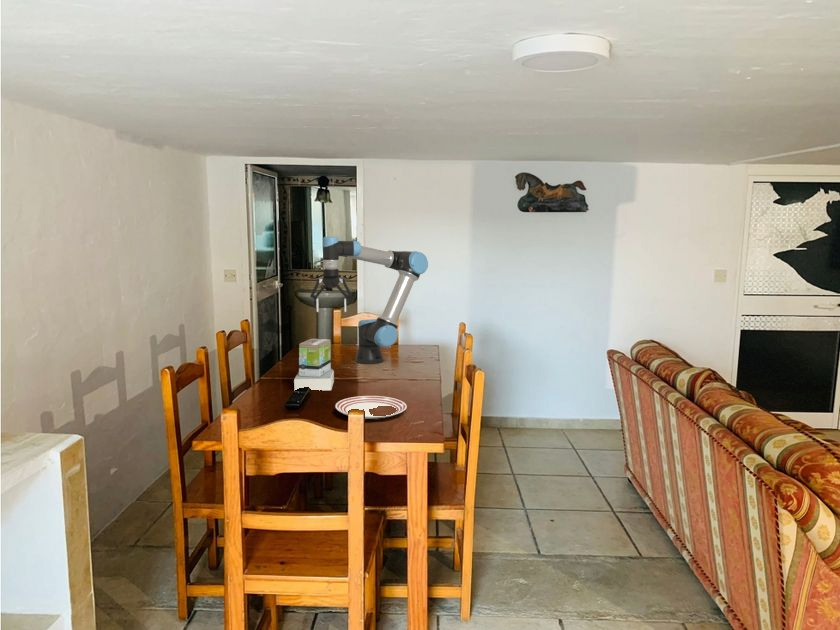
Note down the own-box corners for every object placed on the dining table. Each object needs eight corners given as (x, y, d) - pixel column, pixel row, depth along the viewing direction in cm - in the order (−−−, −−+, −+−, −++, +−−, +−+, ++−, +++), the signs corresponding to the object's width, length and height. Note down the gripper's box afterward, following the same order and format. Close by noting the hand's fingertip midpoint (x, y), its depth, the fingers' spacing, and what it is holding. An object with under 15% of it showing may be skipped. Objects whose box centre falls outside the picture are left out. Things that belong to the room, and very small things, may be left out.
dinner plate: (406, 402, 235) (406, 394, 235) (406, 424, 208) (406, 415, 208) (339, 402, 235) (339, 395, 234) (331, 424, 207) (331, 415, 207)
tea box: (320, 377, 251) (319, 344, 249) (298, 376, 253) (297, 343, 251) (331, 369, 266) (330, 338, 264) (310, 368, 267) (310, 337, 265)
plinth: (333, 381, 268) (333, 368, 268) (331, 390, 253) (330, 377, 252) (299, 381, 267) (299, 369, 266) (294, 390, 251) (294, 377, 251)
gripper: (304, 268, 275) (305, 312, 277) (356, 269, 276) (356, 312, 279) (306, 268, 282) (306, 310, 285) (356, 268, 284) (357, 310, 287)
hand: (331, 311), depth 282 cm, fingers open, 13 cm apart
